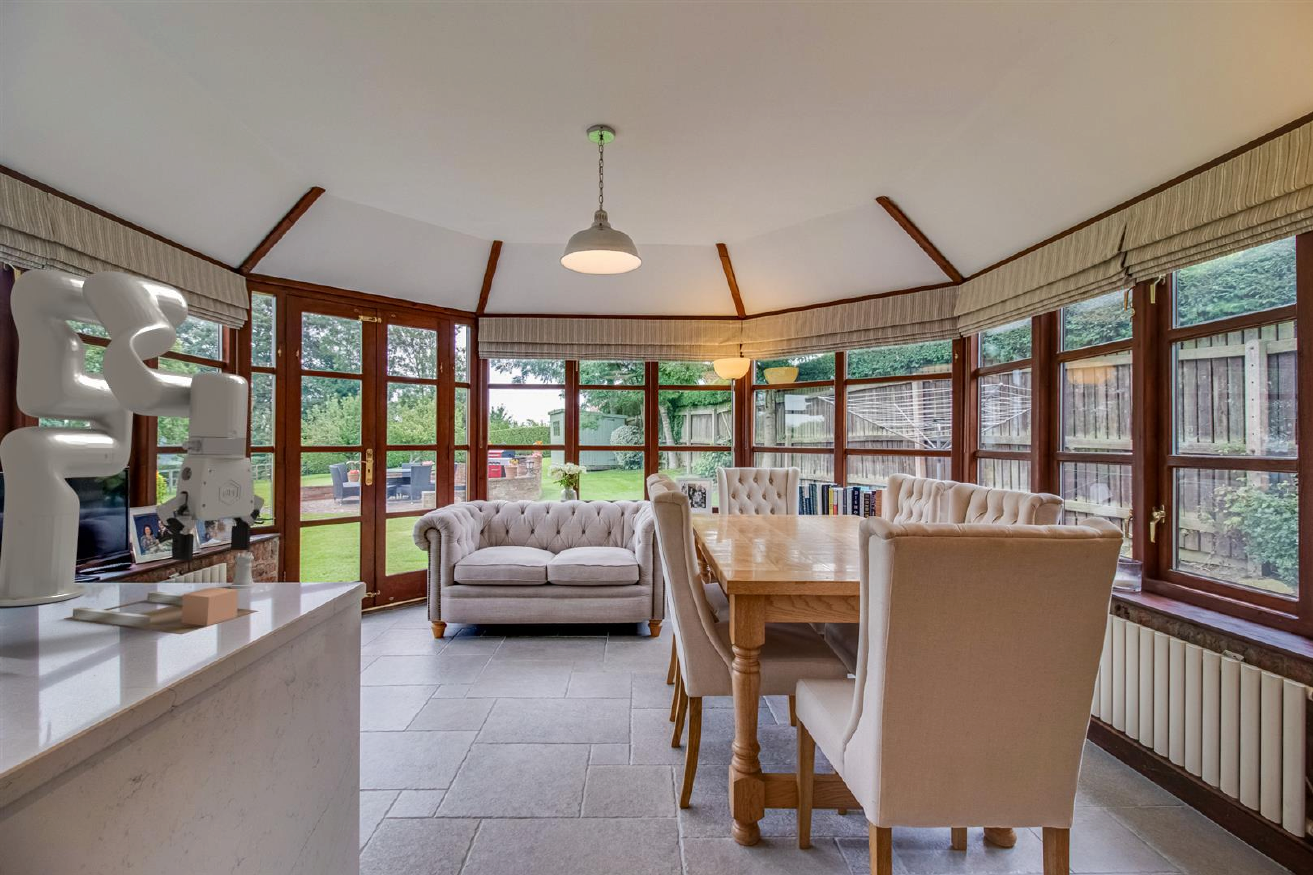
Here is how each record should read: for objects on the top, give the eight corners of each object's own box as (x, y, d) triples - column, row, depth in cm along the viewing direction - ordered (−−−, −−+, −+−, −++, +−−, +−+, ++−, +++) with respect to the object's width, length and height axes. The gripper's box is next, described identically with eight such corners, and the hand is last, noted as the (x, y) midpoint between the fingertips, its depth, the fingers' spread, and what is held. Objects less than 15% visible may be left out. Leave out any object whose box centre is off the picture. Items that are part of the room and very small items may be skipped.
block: (181, 622, 90) (183, 594, 90) (211, 614, 95) (213, 587, 95) (207, 625, 89) (209, 597, 89) (236, 617, 94) (238, 589, 94)
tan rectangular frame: (63, 627, 90) (64, 608, 90) (151, 606, 102) (152, 590, 103) (180, 644, 85) (182, 623, 85) (258, 619, 98) (259, 602, 98)
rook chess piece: (261, 591, 116) (263, 552, 116) (243, 597, 111) (245, 556, 111) (241, 590, 116) (243, 550, 116) (222, 595, 112) (224, 554, 112)
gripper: (182, 448, 84) (176, 565, 83) (281, 450, 101) (277, 547, 100) (141, 447, 85) (135, 562, 85) (246, 449, 102) (242, 545, 102)
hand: (212, 554), depth 92 cm, fingers open, 9 cm apart
